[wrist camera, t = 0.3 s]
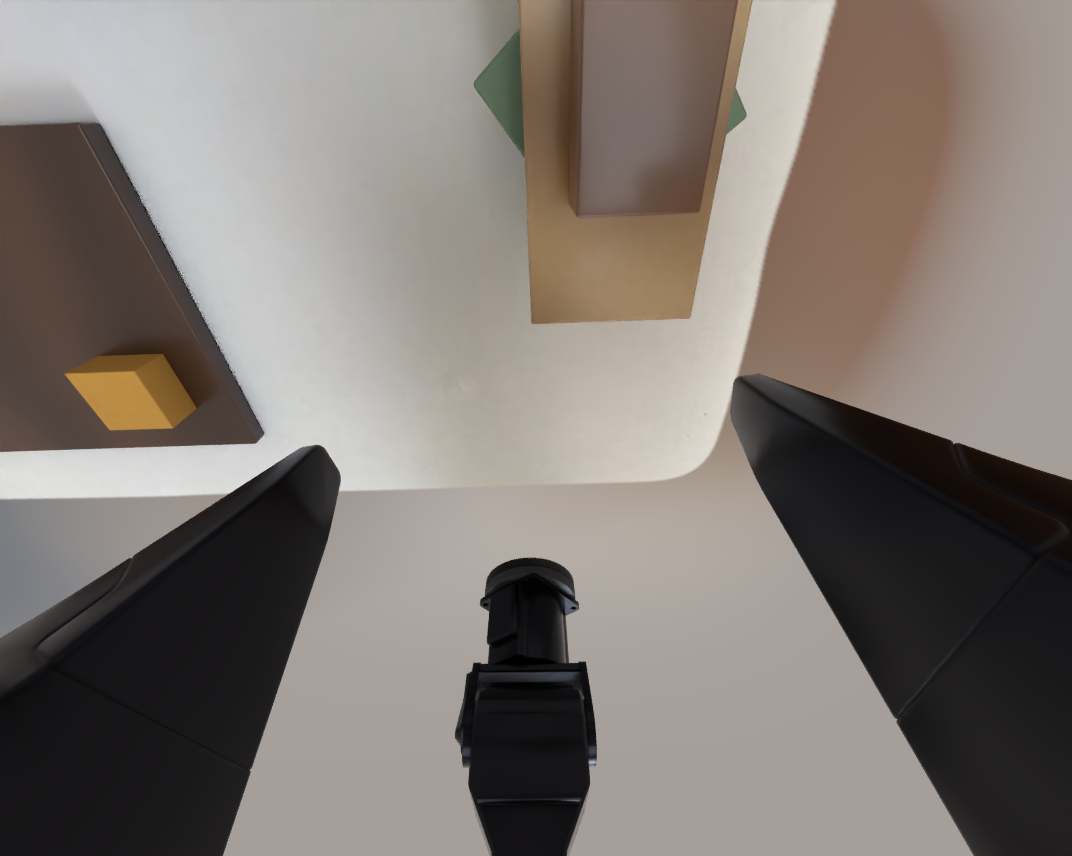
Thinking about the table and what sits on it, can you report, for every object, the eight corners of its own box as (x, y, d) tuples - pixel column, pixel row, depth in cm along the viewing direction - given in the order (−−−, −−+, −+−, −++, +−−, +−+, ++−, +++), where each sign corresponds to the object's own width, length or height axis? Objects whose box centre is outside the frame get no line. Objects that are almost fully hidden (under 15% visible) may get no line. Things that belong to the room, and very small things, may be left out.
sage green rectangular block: (665, 121, 17) (749, 116, 10) (569, 208, 19) (589, 249, 12) (596, -12, 15) (648, -125, 8) (494, 102, 16) (471, 83, 10)
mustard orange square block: (163, 353, 22) (133, 371, 20) (197, 408, 24) (173, 428, 22) (98, 355, 22) (63, 373, 20) (137, 410, 24) (109, 430, 22)
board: (99, 122, 17) (77, 122, 16) (264, 434, 26) (256, 444, 25) (-377, 142, 17) (-423, 142, 16) (-43, 444, 26) (-61, 454, 26)
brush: (509, -251, 7) (493, -555, 4) (761, -265, 7) (945, -578, 4) (531, 300, 13) (531, 356, 10) (670, 296, 13) (716, 349, 10)
